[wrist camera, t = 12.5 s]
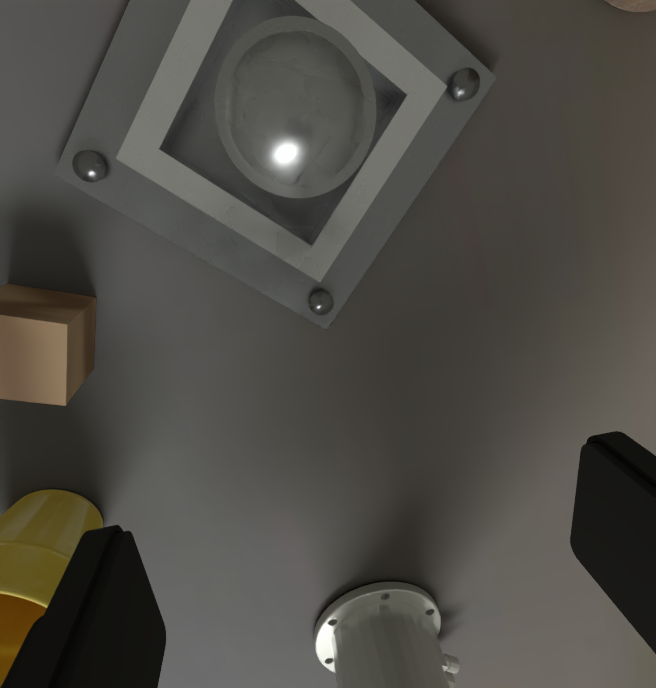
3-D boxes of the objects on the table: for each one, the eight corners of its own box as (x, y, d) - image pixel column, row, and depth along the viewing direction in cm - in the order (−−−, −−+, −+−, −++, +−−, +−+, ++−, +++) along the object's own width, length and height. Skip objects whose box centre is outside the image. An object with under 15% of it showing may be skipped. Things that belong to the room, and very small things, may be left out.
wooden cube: (97, 297, 28) (67, 324, 24) (94, 367, 30) (65, 405, 26) (8, 282, 27) (-41, 308, 23) (10, 357, 29) (-35, 395, 24)
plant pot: (-1, 579, 36) (-85, 722, 27) (-39, 473, 32) (-153, 600, 23) (137, 565, 37) (100, 695, 28) (117, 462, 33) (67, 576, 24)
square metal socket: (488, 80, 27) (525, 69, 23) (324, 324, 31) (334, 347, 28) (214, -175, 21) (206, -244, 17) (60, 173, 25) (28, 177, 22)
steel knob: (326, 61, 24) (370, 7, 15) (337, 175, 27) (381, 187, 18) (218, 73, 24) (196, 24, 15) (239, 187, 26) (232, 207, 17)
